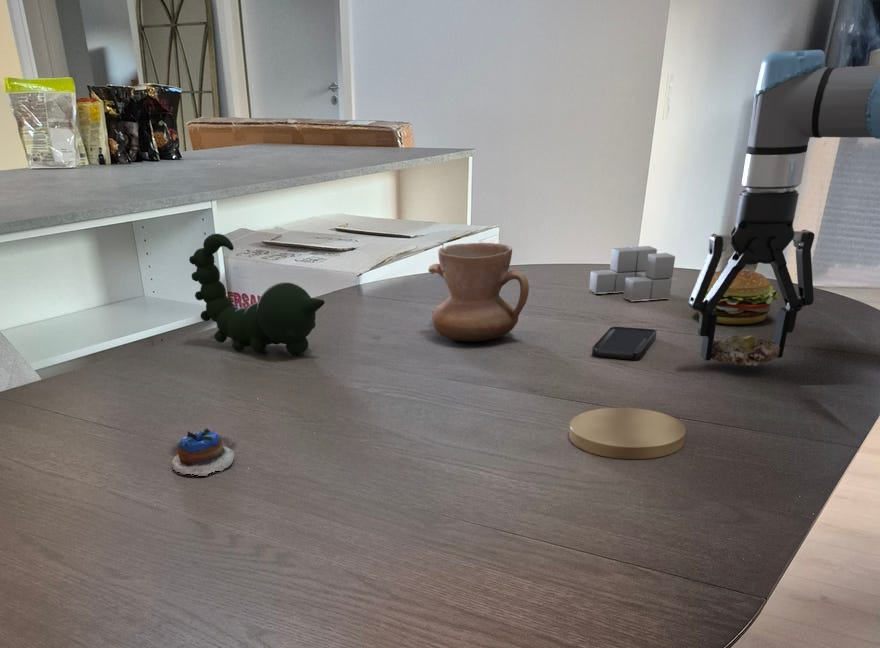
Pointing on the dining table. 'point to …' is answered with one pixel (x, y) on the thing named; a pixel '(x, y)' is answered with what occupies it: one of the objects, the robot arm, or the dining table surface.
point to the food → (744, 299)
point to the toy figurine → (254, 307)
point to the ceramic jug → (476, 292)
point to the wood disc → (627, 433)
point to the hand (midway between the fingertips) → (740, 356)
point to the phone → (624, 343)
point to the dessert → (202, 453)
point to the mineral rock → (745, 350)
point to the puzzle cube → (636, 273)
